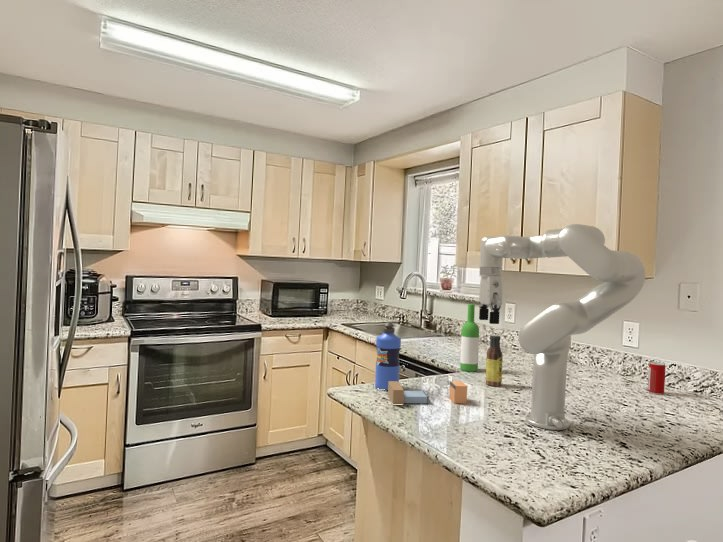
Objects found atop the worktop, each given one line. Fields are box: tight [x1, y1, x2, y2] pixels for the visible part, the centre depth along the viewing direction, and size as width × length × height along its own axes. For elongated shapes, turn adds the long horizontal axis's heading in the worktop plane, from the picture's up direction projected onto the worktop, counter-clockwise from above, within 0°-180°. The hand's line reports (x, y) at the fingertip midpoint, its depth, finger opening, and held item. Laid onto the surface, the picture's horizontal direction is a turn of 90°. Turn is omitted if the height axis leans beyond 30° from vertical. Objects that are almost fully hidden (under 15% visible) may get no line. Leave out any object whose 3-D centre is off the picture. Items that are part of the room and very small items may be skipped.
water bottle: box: [374, 321, 402, 390], centre depth 174 cm, size 9×9×25 cm
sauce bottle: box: [485, 334, 504, 387], centre depth 183 cm, size 6×6×20 cm
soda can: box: [647, 361, 666, 396], centre depth 179 cm, size 6×6×12 cm
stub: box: [448, 380, 468, 404], centre depth 160 cm, size 6×4×6 cm
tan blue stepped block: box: [387, 381, 429, 405], centre depth 158 cm, size 11×12×5 cm
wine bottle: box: [459, 303, 480, 373], centre depth 207 cm, size 8×8×30 cm
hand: (488, 321), depth 159 cm, fingers open, 9 cm apart
